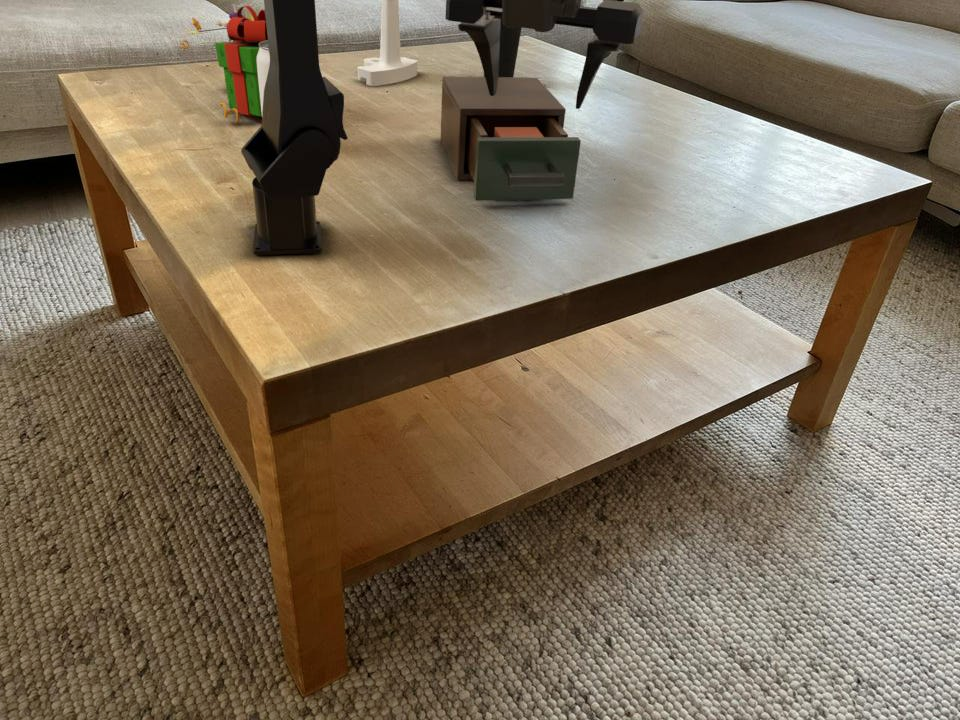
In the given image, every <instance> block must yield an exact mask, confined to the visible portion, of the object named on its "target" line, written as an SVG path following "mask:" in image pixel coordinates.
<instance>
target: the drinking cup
mask: <svg viewBox="0 0 960 720" xmlns="http://www.w3.org/2000/svg"><path fill="white" fill-rule="evenodd" d="M493 18H497V19H501V24H500V49H499V74H498V77H515V76H514V75H515V70H516V64H517V58H518V53H519V45H520V40H521V34H522V27H516V28H515V29H513V28H508V27H506V26H504V25H503V20H502V17H497V16H495V17H493ZM483 77H485V75H484V74H483Z"/></svg>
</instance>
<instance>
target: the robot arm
mask: <svg viewBox="0 0 960 720" xmlns="http://www.w3.org/2000/svg"><path fill="white" fill-rule="evenodd" d="M263 5H264V10H265V16H266V25H267V35H268V45H269V54H270V65H269V70H268V75H267V79H266V84H265V88H264V97H263V113H262V116H261V126H260V127H259V128H258V129H257V130H256V131H255V132H254V134H253V135H252V136H251V137H250V138H249V140H248V141H247V142H246V143H244V145H243V147H241V149H240V153H241V154H242V156H243V158H244V160H245V162H246V164H247V166H248V168H249V170H251V172H252V173H253V175H254V178H253V179H252V181H251V184H252V194H253V199H254V200H253V203H254V210H255V220H256V223H255V224H254V235H253V244H252V254H253V255H255V256H267V255H271V256H273V255H300V254H303V255H305V254H321V253H322V252H323V241H322V240H323V239H322V223H321V221H319V220H317V214H316V213H317V211H316V210H317V209H316V196H319V194H320V191H321V188H322V185H323V182H324V178H325V175H326V172H327V170H328V169H329V168H330V167H331V166H332V165H333V163H334V162H336V161H338V158H339V156H340V154H341V145H342V144H341V143H342V142H341V140H344V141H347V140H348V138H349V137H348V135H347V133H346V131H345V127H344V121H343V120H344V109H345V95H344V92H342V91H340V89H339V88H338V87H336V85H334V84H333V83H332V82H331V81H330V80H329V79H328V78H327V77H326V76H323V74H322V72H321V67H320V56H319V42H318V27H317V13H316V11H317V10H316V0H263ZM495 16H497V17H502V20H503V25H504V26H506V27H508V28H513V29H515V28H516V27H522V28H523V29H529V30H534V31H535V32H538V33H548V32H550V31H552V30H554V28H555V26H556V25H560V26H566V27H567V26H568V27H569V26H570V27H575V28H584V29H591V30H592V32H593V34H594V36H593V37H592V38H591V39H590V40H589V41H588V43H587V46H586V56H585V59H584V60H585V61H584V65H583V68H582V73H581V75H580V76H581V77H580V79H579V85H578V90H577V93H576V98H575V100H576V101H575V109H576V110H580V109H581V107H582V105H583V104H584V101H585V99H586V98H587V94H588V93H589V90H590V88H591V86H592V84H593V82H594V80H595V77H596V75H597V73H598V71H599V69H600V67H601V65H602V63H604V60H605V59H606V57H607V56H608V54H609V53H610V52H618V51H620V49H621V48H622V47H623V46H624V45H633V44H635V42H636V40H637V39H638V38H639V36H640V34H641V30H642V23H643V19H644V18H643V17H644V10H643V8H642V7H641V4H640V3H638V2H628V1H621V0H603V1H602V2H601V3H599V4H598V5H597V7H592V6H591V7H590V6H582V0H445V20H446V21H448V22H455V23H459V24H458V25H457V28H458V30H459V32H463V33H466V34H467V35H468V36H469V38H470V39H471V40H472V42H473V43H474V46H475V48H476V51H477V54H478V56H479V59H480V63H481V67H482V71H483V76H484V75H485V79H486V82H487V86H488V90H489V94H490V96H494V95H495V94H496V90H497V84H498V74H499V49H500V24H501V19H497V18H493V17H495Z"/></svg>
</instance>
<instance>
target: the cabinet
mask: <svg viewBox="0 0 960 720" xmlns="http://www.w3.org/2000/svg"><path fill="white" fill-rule="evenodd" d="M441 80H442V84H441V111H440V112H441V113H440V115H441V116H440V117H441V118H440V144H441V147H442V149H443V152H444V153H445V156H446V158H447V160H448V163H449V164H450V167H451V169H452V172H453V174H454V177H455V178H456V180H457V181H473V179H472V177H471V175H470V173H469V170H468V168H467V166H466V164H465V142H466V123H467V115H522V116H552V117H553V118H554V119H555V120H556V121H557V122H558V124H559V125H560V126H561V127H562V128H563V129H564V126H565V120H566V110H567V109H566V107H564V106H563V104H561V102H560V101H559V100H558V99H557V98H556V96H554V95H553V94H552V93H551V91H549V89H548V88H547V87H546V86H545V85H544V84H543V83H542V82H541V81H540V80H539V79H538V77H515V76H513V77H498V84H497V90H496V94H495V95H494V96H490V94H489V90H488V86H487V82H486V79H485V77H484V76H442V79H441Z"/></svg>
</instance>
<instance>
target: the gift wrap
mask: <svg viewBox="0 0 960 720" xmlns="http://www.w3.org/2000/svg"><path fill="white" fill-rule="evenodd" d="M244 7H245V8H247V9H248V10H249V11H250V12H251V14H252V16H253V18H254V21H252V20H249V19H247V18H246V16H243V14H242V13H243V12H242V11H243V10H244ZM237 16H238V17H232V18H231V19H230V18H229V20H228V22H227V23H228V24H227V27H226V28H227V29H226V33H227V36H228V37H227V38H228V39H229V38H230V39H231V40H232V41H224V42H222V41H221V42H215V43H214V45H215V52H216V56H217V62H218V66H219V67H221V68H223V75H224V79H225V81H226V82H225V87H226V95H227V100H228V107H229V108H228V109H230V110H228V109H227V105H226V103H225V102H220V103H218V104H219V106H220V107H223V109H224V111H223V112H224V114H223V115H224V119H226V118H227V117H229V115H230V114H231V113H233V112H235V124H237V123H239V114H241V115H245V116H248V117H250V116H256V117H262V112H261V102H260V92H259V82H258V72H257V54H258V51H259V43H260V42H262V41H265V40H268V35H267V25H266V16H265V9H261V10H260V11H259V12H258V14H257V13H256V11H255V9H253V8H252V7H251V6H250V5H244V6H241V7H240V8H238V9H237ZM191 19H192V25H193V26H194V27H195V29H196V31H202V27H201V24H200V21H199V20H197V19H196V18H195V17H191ZM241 21H243V22H241ZM185 43H186V44H187V45H186V44H185ZM179 46H180V48H181V49H183V51H186V50H187V49H189V47H190V43H189V41H188V40H186V39H183V41H182V42H180V43H179Z"/></svg>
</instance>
